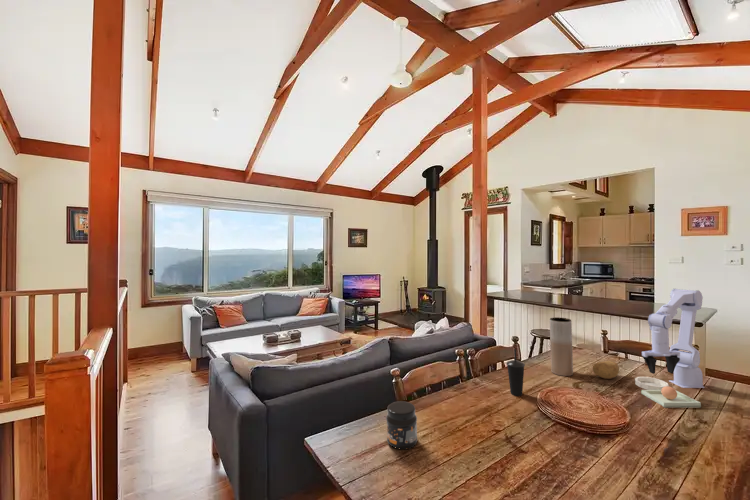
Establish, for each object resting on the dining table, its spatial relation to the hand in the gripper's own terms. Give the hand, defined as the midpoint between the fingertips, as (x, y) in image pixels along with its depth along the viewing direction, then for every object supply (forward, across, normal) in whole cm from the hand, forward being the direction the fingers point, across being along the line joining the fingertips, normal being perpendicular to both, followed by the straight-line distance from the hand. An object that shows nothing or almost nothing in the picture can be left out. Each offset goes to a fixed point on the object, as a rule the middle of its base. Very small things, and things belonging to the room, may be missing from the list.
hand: (661, 372), depth 144 cm
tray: (+9, -2, -6) cm, 11 cm away
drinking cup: (+9, -62, +1) cm, 63 cm away
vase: (+9, -30, +26) cm, 40 cm away
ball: (+8, -2, -6) cm, 11 cm away
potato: (+10, -12, +19) cm, 24 cm away
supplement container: (+9, -114, -36) cm, 120 cm away
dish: (+9, +1, +8) cm, 12 cm away
